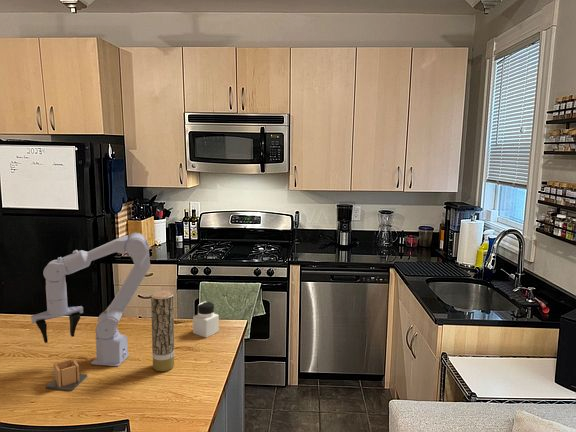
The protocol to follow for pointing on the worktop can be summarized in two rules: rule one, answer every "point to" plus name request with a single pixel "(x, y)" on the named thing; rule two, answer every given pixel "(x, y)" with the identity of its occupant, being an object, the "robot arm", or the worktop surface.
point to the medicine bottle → (205, 320)
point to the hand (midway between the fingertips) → (59, 338)
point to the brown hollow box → (66, 372)
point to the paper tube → (162, 330)
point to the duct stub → (67, 387)
